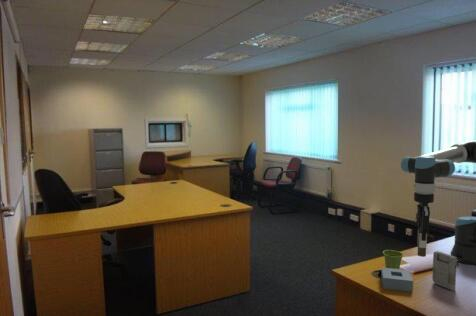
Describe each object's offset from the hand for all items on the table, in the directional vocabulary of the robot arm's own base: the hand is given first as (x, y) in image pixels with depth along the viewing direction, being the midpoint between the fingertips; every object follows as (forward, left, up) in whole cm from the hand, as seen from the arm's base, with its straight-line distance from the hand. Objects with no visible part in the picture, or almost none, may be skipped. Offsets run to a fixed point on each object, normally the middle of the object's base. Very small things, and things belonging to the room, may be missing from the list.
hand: (421, 245), depth 157 cm
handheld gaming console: (-11, -8, -21) cm, 25 cm away
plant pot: (+9, -22, -21) cm, 31 cm away
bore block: (+9, -5, -21) cm, 23 cm away
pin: (0, 0, -4) cm, 4 cm away
